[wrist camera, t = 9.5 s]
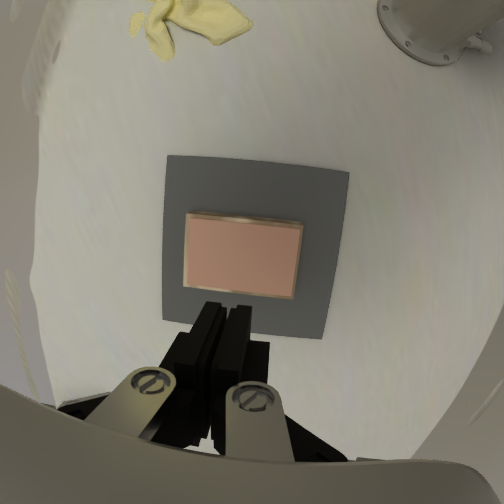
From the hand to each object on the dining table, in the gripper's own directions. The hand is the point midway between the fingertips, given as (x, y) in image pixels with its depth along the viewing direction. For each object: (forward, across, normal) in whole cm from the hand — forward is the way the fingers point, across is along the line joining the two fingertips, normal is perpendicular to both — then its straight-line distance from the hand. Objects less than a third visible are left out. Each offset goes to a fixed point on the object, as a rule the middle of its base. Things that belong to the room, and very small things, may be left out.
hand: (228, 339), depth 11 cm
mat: (+24, +1, +3) cm, 24 cm away
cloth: (+25, +12, -27) cm, 39 cm away
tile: (+22, +8, +3) cm, 24 cm away
